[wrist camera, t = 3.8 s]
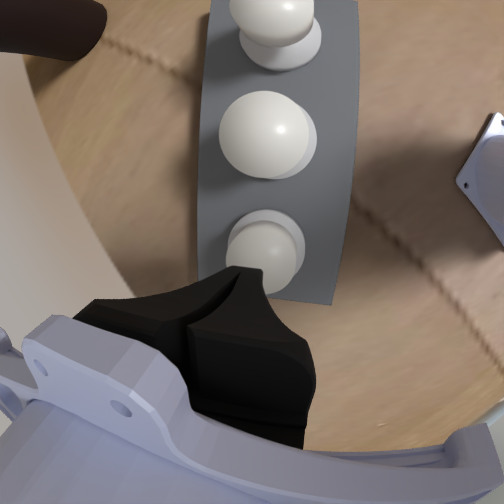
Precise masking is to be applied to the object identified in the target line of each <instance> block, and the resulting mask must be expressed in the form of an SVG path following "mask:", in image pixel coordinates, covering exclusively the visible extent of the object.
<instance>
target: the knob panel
mask: <svg viewBox="0 0 504 504" xmlns="http://www.w3.org/2000/svg"><path fill="white" fill-rule="evenodd" d="M229 2H230V0H211V8H210V15H209V23H208V32H207V41H206V51H205V61H204V72H203V84H202V98H201V113H200V132H199V155H198V192H197V259H198V281H200V280H203V279H205V278H207V277H209V276H211V275H213V274H215V273H217V272H219V271H221V270H223V269H225V268H227V266H226V254H227V250H228V247H229V245H230V244H231V242H232V241H233V240H234V239H235V237H236V236H237V235H238V234H239V232H240V231H241V230H242V229H243V228H244V227H245V226H247V225H248V224H250V223H252V222H255V221H260V220H268V221H273V222H276V223H278V224H280V225H282V226H284V227H285V228H286V229H287V230H288V231H289V232H290V233H291V234H292V236H293V238H294V240H295V242H296V246H297V259H296V267H295V272H294V275H293V277H292V279H291V281H290V282H289V283H288V284H287V285H286V286H285V287H284V288H283V289H281V290H280V291H278V292H275V293H272V294H266V297H268V298H275V299H283V300H290V301H298V302H306V303H315V304H323V305H332V301H333V296H334V291H335V286H336V281H337V276H338V271H339V266H340V261H341V255H342V250H343V244H344V238H345V232H346V225H347V219H348V212H349V204H350V197H351V189H352V181H353V172H354V162H355V151H356V140H357V126H358V108H359V80H360V42H359V15H358V1H353V0H314V21H313V26H312V29H311V31H310V32H309V34H308V35H307V36H306V37H305V38H303V39H302V40H301V41H299V42H297V43H295V44H293V45H290V46H286V47H275V48H274V47H265V46H262V45H258V44H256V43H254V42H252V41H251V40H249V39H248V38H247V37H246V36H245V35H244V34H243V33H242V31H241V29H240V28H239V26H238V25H237V23H236V22H235V20H234V19H233V17H232V15H231V13H230V9H229ZM256 91H272V92H276V93H279V94H282V95H284V96H286V97H288V98H289V99H291V100H292V101H294V102H295V103H296V104H297V105H298V106H299V108H300V109H301V110H302V112H303V114H304V115H305V118H306V120H307V123H308V128H309V140H308V145H307V149H306V151H305V153H304V155H303V157H302V158H301V160H300V161H299V162H298V163H297V164H296V165H295V166H294V167H293V168H292V169H290V170H289V171H287V172H286V173H284V174H281V175H279V176H275V177H270V178H258V177H253V176H249V175H247V174H244V173H242V172H240V171H239V170H237V169H236V168H235V167H233V166H232V165H231V164H230V162H229V161H228V160H227V159H226V157H225V155H224V154H223V151H222V149H221V146H220V142H219V127H220V123H221V120H222V117H223V115H224V113H225V112H226V110H227V109H228V107H229V106H230V105H231V104H232V103H233V102H234V101H236V100H237V99H238V98H240V97H242V96H243V95H246V94H248V93H252V92H256Z"/></svg>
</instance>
